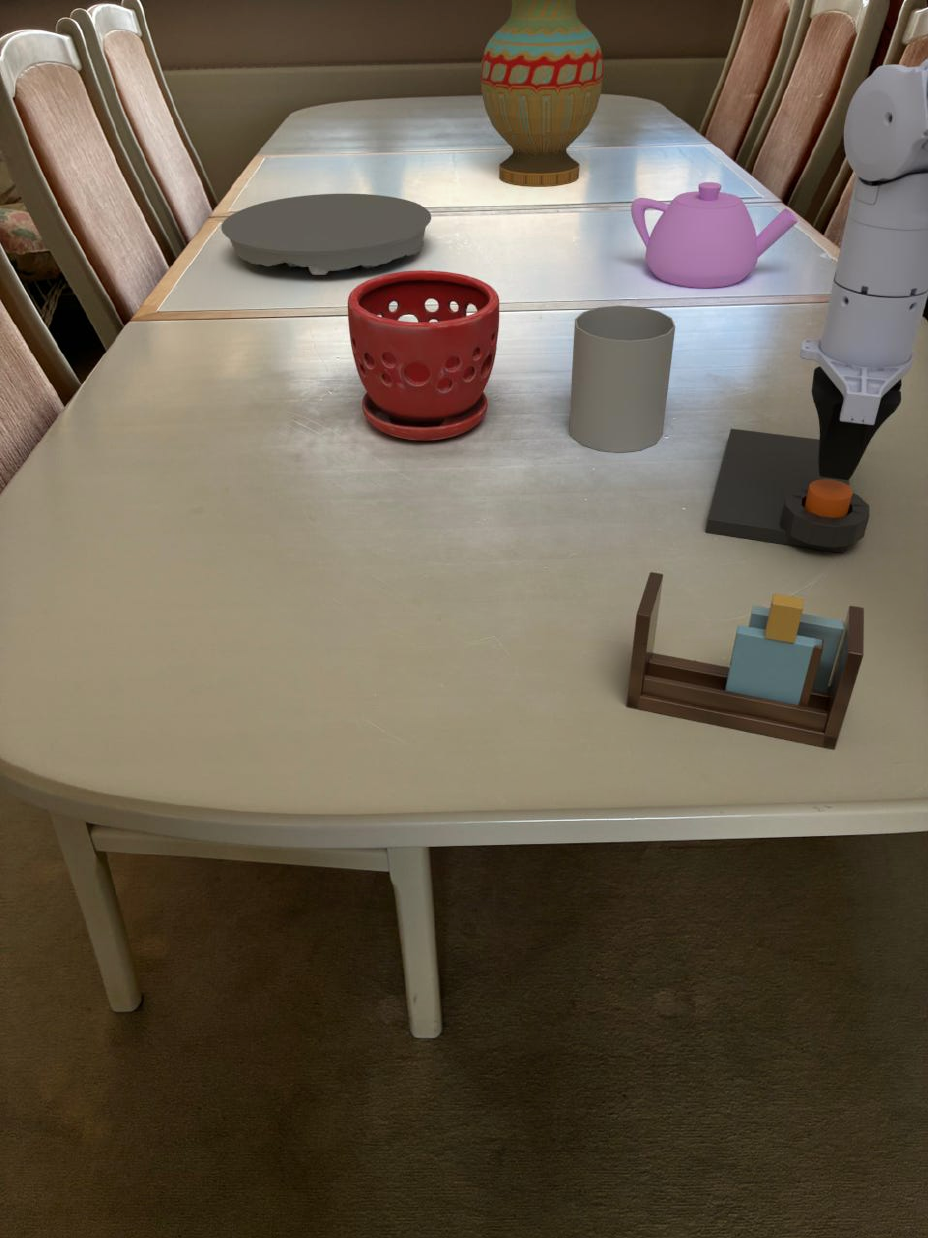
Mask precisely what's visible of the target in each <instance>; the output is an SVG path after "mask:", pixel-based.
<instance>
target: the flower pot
mask: <svg viewBox="0 0 928 1238" xmlns="http://www.w3.org/2000/svg"><path fill="white" fill-rule="evenodd" d="M428 300H434V301H436V302H437V306H438V307H437V309H436V310H435V311H430V310H428V309H427V306H426V303H427V301H428ZM393 302H396V305H397V306H396V308H395V310H394V311H391V310H390V305H391V304H392V303H393ZM452 302H454V303H456V305H457V306H458V307H457V310H456V311H454V310H453V309H452V308H451V304H452ZM469 305H473V306H474V307H475V309H476V312H473V313H470V314H469V315H467V314H468V313H467V310H468V306H469ZM406 315H412V316H413V317H414V318H415V319H416V320H417V321H404V320H399V319H400V318H401V317H403V316H406ZM433 320H434V321H433ZM347 321H348V331H349V339H350V340H349V341H350V346H351V351H352V356H353V360H354V365H355V367H356V371H357V374H358V377H359V379H360V382H361V384H362V387H364V389H365V393H364V395H363V397H362V399H361V400H362V401H361V408H362V412H363V415H364V416H365V418H366V420H367V421H368V422H369V423H370V424H371V425H372V426H373V427H374V428H376V429H377V430H378V431H380V432H382V433H385V434H387V435H389V436H392V437H395V438H400V439H404V440H410V441H437V440H438V441H439V440H444V439H449V438H453V437H456V436H460V435H462V434H464V433H466V432H468V431H470V430H471V429H473V428H474V427H476V426H477V425H478V424H479V423H480V422H481V421H482V420H483V419H484V417H485V416H486V413H487V411H488V408H489V407H488V406H489V403H488V402H489V401H488V398H487V395H486V393H485V392H484V391H485V389H486V387H487V385H488V382H489V381H490V378H491V374H492V371H493V368H494V364H495V359H496V355H497V349H498V348H497V347H498V345H497V344H498V339H499V338H498V337H499V330H500V297H499V295H498V293H497V291H496V290H495V289H494V287H492V286H491V285H490V284H489V283H487V282H485V281H483V280H481V279H479V278H476V277H473V276H469V275H467V274H463V273H458V272H457V273H456V272H450V271H442V270H441V271H440V270H423V269H422V270H404V271H403V270H402V271H397V272H391V273H386V274H383V275H379V276H375V277H373V278H369V279H367V280H366V281H363V282H362V283H360V284H358V285H357V286H356V287H354V288H353V289H352V290H351V292H350V293H349V295H348V297H347Z"/></svg>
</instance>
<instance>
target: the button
mask: <svg viewBox="0 0 928 1238" xmlns="http://www.w3.org/2000/svg"><path fill="white" fill-rule="evenodd" d="M852 493H854V492H853V489H852V488H851V486H850V485H849V486H848V485H847V484H845V483H843V482H840V481H836V480H831V479H820V480H816V481H814V482H812V483H811V484H810V486H809V490H808V494H807V498H806V503H805V509H806V510H807V511H809V512H811V513H813V514H816V515H818V516H823V517H830V518H838V517H845V516H846V515H847V513H848V509H849V505H850V501H851V497H852Z"/></svg>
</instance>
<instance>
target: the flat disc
mask: <svg viewBox="0 0 928 1238" xmlns="http://www.w3.org/2000/svg"><path fill="white" fill-rule="evenodd" d="M431 221H432V213H431V212H430V211H429V210H428V209H427V208H426V207H424V206H423V205H421V204H419V203H416V202H414V201H410V200H407V199H403V198H399V197H394V196H389V195H388V196H387V195H380V194H370V193H369V194H368V193H321V194H309V195H300V196H299V195H298V196H292V197H284V198H281V199H274V200H269V201H265V202H261V203H258V204H253V205H251V206H248V207H245V208H243V209H240V210H238V211H236V212H233V213H232V214H230V215H229V216H228V217H226V218H225V219H224V220H223V221H222V223H221V226H220V229H221V232H222V233H223V235H225V237H227V238H228V239H229V241H230V243H231V247H232V248H233V251H234V252H235V253H236V255H237V256H238V257H239V258H240V259H242V261H245V262H248V263H249V264H251V265H256V266H258V265H262V266H264V267H272V266H277V265H281V264H284V263H285V264H287V266H289V267H291V268H297V267H301V268H308V270H309V272H310V274H311V275H313V276H314V275H316V276H318V275H320V276H321V275H322V276H324V275H325V276H326V275H328V273H329V272H330V271H331V272H335V271H339V272H341V271H345V270H350V269H352V268H357V267H362V268H364V269H367V270H371V269H373V268H375V267H378V266H379V265H386V264H388V263H390V262H392V261H393V260H394V261H395V260H396V259H400V258H403V257H405V256H406V257H409V256H411V255H413V256H414V255H416V254H417V253H418V252H420V251H421V250H422V248H423V246H424V237H425V233H426V229H427V226H428V225H430V223H431Z"/></svg>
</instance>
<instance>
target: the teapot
mask: <svg viewBox="0 0 928 1238" xmlns="http://www.w3.org/2000/svg"><path fill="white" fill-rule="evenodd" d="M697 186H698V187H697V188H698V190H697V191H695V190H694V191H688V192H683V193H680V194H677V195H676V196H675V197H674V198H673V199H672V200H671V201H670V202H669V204H668V203H665V202H663V201H659V200H657V199H652V198H649V197H637V198H635V199H634V200H633V201H632V203H631V206H630V212H631V218H632V222H633V224H634V226H635V229H636V231H637V233H638V235H639V237H640V239H641V241H642V242H643V244H644V246H645V248H646V249H645V261H646V265H647V266H648V268H649V269H650V271H651V272H652V274H654V276H655V277H656V278H657V279H658V280H660V281H662V282H664V283H666V284H671V285H673V286H674V285H675V286H679V287H685V288H695V289H715V288H716V289H717V288H724V287H730V286H733V285H736V284H738V283H740V282H741V281H744V280H743V279H745V278H746V277H747V276H749V274H750V273H751V272H752V271H753V270H754V269H755V267H756V266H757V263H758V260H759V257H761V256H762V255H763V254H764V253H765V252H766V251H768V250H769V249H770V248H771V247H772V246H773V245H774V244H775V243H776V242H777V241H778V240H780V239H781V238H782V237H783V236H784V235H785V234H786V233H787V232H789V230H791V228H793V227H794V226H795V225H796V224H797V223H798V222H799V221H798V218H797V217H796V216H795V215H794V213H792V212H791V211H790V210H789V209H788V208H786V207H785V208H783V210H781V211H780V212H779V213H778V214H777V216H776V217H775V218H773V219H772V220H771V221H770V223H768V224H767V225H766V227H765V228H764V229H763V230H761V232H760V233H759V234H758V235H757V232H756V228H755V226H754V225H755V224H754V222H753V219H752V217H751V214H750V213H749V210H748V208H747V206H746V204H745V202H744V201H743V199H742V198H741V197H740V196H738V195H735V194H732V193H728V192H722V187H723V186H722V184H720V183H718V182H713V181H704V182H700V183H698V184H697ZM648 209H651V210H652V209H653V210H657V211H659V212H662V214H661V216H659V218H658V220H657V222H656V223H655V225H654V226H653V228H652V231H651V233H650V234H649V231H648V229H647V224H646V215H645V213H646V211H647V210H648Z"/></svg>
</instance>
